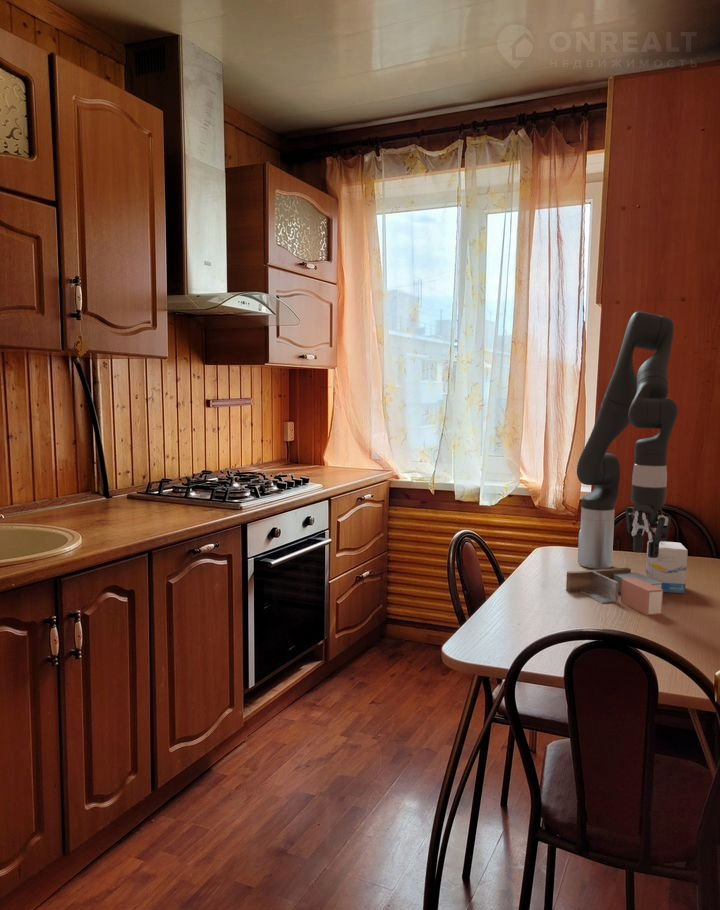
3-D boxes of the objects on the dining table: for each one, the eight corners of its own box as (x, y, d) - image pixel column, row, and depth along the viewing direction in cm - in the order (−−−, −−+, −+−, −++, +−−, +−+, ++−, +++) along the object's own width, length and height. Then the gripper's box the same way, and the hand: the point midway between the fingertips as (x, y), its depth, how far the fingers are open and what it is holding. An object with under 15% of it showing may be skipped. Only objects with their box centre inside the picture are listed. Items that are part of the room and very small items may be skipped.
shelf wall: (566, 590, 181) (566, 571, 181) (626, 585, 186) (627, 567, 185) (569, 592, 180) (570, 573, 179) (629, 587, 184) (630, 569, 184)
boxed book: (620, 602, 172) (621, 578, 172) (634, 601, 173) (635, 577, 173) (647, 615, 163) (648, 590, 162) (661, 614, 164) (663, 589, 163)
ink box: (686, 593, 180) (688, 549, 178) (651, 591, 181) (653, 547, 180) (677, 584, 188) (680, 541, 187) (644, 582, 190) (646, 539, 188)
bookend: (579, 591, 181) (580, 572, 180) (594, 590, 182) (594, 571, 181) (602, 603, 171) (603, 583, 170) (617, 602, 172) (618, 582, 171)
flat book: (612, 588, 183) (613, 574, 183) (635, 587, 185) (636, 572, 184) (637, 600, 173) (637, 584, 173) (661, 598, 175) (662, 583, 175)
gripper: (684, 487, 158) (679, 561, 160) (643, 478, 172) (639, 546, 174) (655, 488, 156) (651, 563, 158) (616, 479, 170) (613, 548, 172)
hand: (645, 554), depth 166 cm, fingers open, 5 cm apart
